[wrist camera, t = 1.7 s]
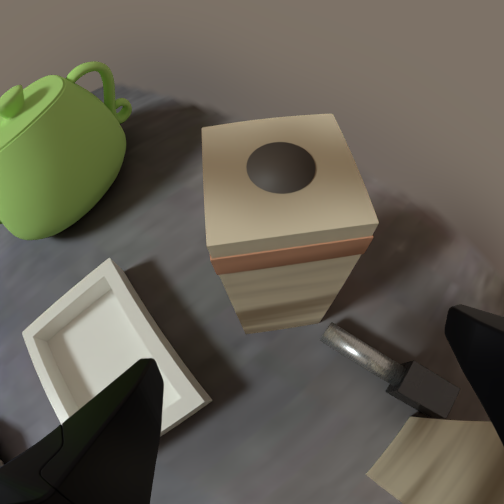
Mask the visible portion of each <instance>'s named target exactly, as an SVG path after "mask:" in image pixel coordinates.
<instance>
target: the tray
mask: <svg viewBox="0 0 504 504" xmlns="http://www.w3.org/2000/svg"><path fill="white" fill-rule="evenodd" d="M22 334H23V337H24V340H25V343H26V346H27V348H28V351H29V354H30V356H31V359H32V362H33V364H34V367H35V369H36V372H37V374H38V376H39V379H40V381H41V383H42V386H43V388H44V390H45V392H46V394H47V396H48V399H49V401H50V403H51V405H52V407H53V409H54V411H55V413H56V415H57V417H58V419H59V420H60V422H61V424H62V423H63V422H64V421H66V420H67V419H68V418H69V417H70V416H72V415H73V414H74V413H75V412H77V411H78V410H79V409H80V408H81V407H83V406H84V405H85V404H86V403H87V402H89V401H90V400H91V399H92V398H94V397H95V396H96V395H97V394H98V393H100V392H101V391H102V390H103V389H104V388H106V387H107V386H108V385H109V384H110V383H112V382H113V381H114V380H115V379H116V378H118V377H119V376H120V375H121V374H122V373H124V372H125V371H126V370H127V369H128V368H130V367H131V366H132V365H133V364H134V363H136V362H137V361H138V360H139V359H142V358H153V359H155V361H156V363H157V365H158V368H159V370H160V373H161V375H162V378H163V381H164V393H163V409H162V426H161V434H160V437H161V436H162V435H164V434H165V433H167V432H168V431H170V430H171V429H173V428H174V427H176V426H177V425H179V424H180V423H182V422H183V421H185V420H186V419H187V418H189V417H190V416H192V415H193V414H195V413H196V412H197V411H199V410H200V409H202V408H203V407H204V406H206V405H207V404H209V403H210V402H211V401H213V400H212V399H211V398H210V396H209V395H208V394H207V393H206V391H205V390H204V389H203V387H202V386H201V385H200V384H199V382H198V381H197V380H196V378H195V377H194V376H193V374H192V373H191V372H190V370H189V369H188V368H187V366H186V365H185V364H184V362H183V361H182V360H181V358H180V357H179V355H178V354H177V353H176V351H175V350H174V348H173V347H172V346H171V344H170V343H169V341H168V340H167V338H166V337H165V335H164V334H163V333H162V331H161V330H160V328H159V327H158V325H157V324H156V322H155V321H154V319H153V318H152V316H151V314H150V313H149V311H148V310H147V308H146V307H145V305H144V304H143V302H142V300H141V299H140V297H139V296H138V294H137V292H136V291H135V289H134V288H133V286H132V284H131V283H130V281H129V279H128V278H127V276H126V274H125V273H124V271H123V270H122V269H121V268H120V267H119V266H118V265H117V264H116V263H114V262H113V261H112V260H111V259H110V258H108V259H107V260H106V261H105V262H103V263H102V264H101V265H100V266H98V267H97V268H96V269H95V270H93V271H92V272H91V273H90V274H89V275H87V276H86V277H85V278H84V279H82V280H81V281H80V282H79V283H78V284H76V285H75V286H74V287H73V288H72V289H70V290H69V291H68V292H67V293H66V294H65V295H63V296H62V297H61V298H60V299H59V300H58V301H56V302H55V303H54V304H53V305H52V306H51V307H50V308H48V309H47V310H46V311H45V312H44V313H43V314H42V315H41V316H39V317H38V318H37V319H36V320H35V321H34V322H33V323H32V324H31V325H30V326H29V327H27V328H26V329H25V330H24V331H23V332H22Z"/></svg>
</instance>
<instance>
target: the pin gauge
mask: <svg viewBox="0 0 504 504" xmlns="http://www.w3.org/2000/svg"><path fill="white" fill-rule="evenodd" d="M320 341H321V342H323V343H324V344H326V345H328V346H329V347H331V348H332V349H334V350H336V351H337V352H339V353H340V354H342V355H344V356H345V357H347V358H348V359H350V360H352V361H353V362H355V363H357V364H358V365H360V366H361V367H363V368H365V369H366V370H368V371H370V372H371V373H373V374H375V375H376V376H378V377H380V378H381V379H383V380H385V381H386V382H388V383H390V385H389V387H388V388H387V390H386V392H387V393H389V394H390V395H392V396H394V397H396V398H397V399H399V400H401V401H402V402H404V403H406V404H408V405H409V406H411V407H413V408H415V409H416V410H418V411H420V412H422V413H424V414H425V415H427V416H429V417H431V418H444V419H446V418H447V416H448V414H449V412H450V410H451V408H452V406H453V404H454V401H455V399H456V397H457V395H458V393H459V391H460V389H459V388H458V387H456V386H454V385H453V384H451V383H450V382H448V381H446V380H445V379H443V378H441V377H440V376H438V375H437V374H435V373H433V372H432V371H430V370H429V369H427V368H425V367H424V366H422V365H420V364H419V363H417V362H416V361H410V362H407V363H403V364H401V365H400V364H398V363H397V362H395V361H394V360H392V359H390V358H389V357H387V356H385V355H384V354H382V353H381V352H379V351H377V350H376V349H374V348H372V347H371V346H369V345H368V344H366V343H364V342H363V341H361V340H360V339H358V338H356V337H355V336H353V335H352V334H350V333H348V332H347V331H345V330H344V329H342V328H340V327H339V326H337V325H336V324H334V323H332V322H331V323H330V325H329V326H328V328H327V329H326V331H325V332H324V334H323V335H322V337H321V339H320Z"/></svg>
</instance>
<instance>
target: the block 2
mask: <svg viewBox="0 0 504 504" xmlns="http://www.w3.org/2000/svg"><path fill="white" fill-rule="evenodd" d="M366 475H367V476H368V477H370V478H371V479H372V480H373V481H375V482H376V483H377V484H378V485H380V486H381V487H382V488H383V489H385V490H386V491H387V492H389V493H390V494H391V495H392V496H394V497H395V498H396V499H398V500H399V501H400V502H402V503H403V504H504V446H503V444H502V442H501V440H500V438H499V436H498V434H497V432H496V430H495V428H494V426H493V424H492V422H491V421H458V420H442V419H430V418H420V417H409V419H408V420H407V422H406V423H405V424H404V426H403V427H402V429H401V430H400V432H399V433H398V434H397V436H396V437H395V438H394V440H393V441H392V442H391V444H390V445H389V446H388V448H387V449H386V450H385V451H384V453H383V454H382V455H381V457H380V458H379V459H378V460H377V461H376V463H375V464H374V465H373V466H372V468H371V469H370V470H369V471H368V472H367V473H366Z"/></svg>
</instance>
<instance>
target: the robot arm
mask: <svg viewBox="0 0 504 504" xmlns="http://www.w3.org/2000/svg"><path fill="white" fill-rule="evenodd" d="M445 336H446V338H447V340H448V342H449V344H450V346H451V348H452V350H453V352H454V354H455V356H456V358H457V360H458V362H459V364H460V366H461V368H462V370H463V372H464V374H465V376H466V377H467V379H468V381H469V383H470V384H471V386H472V388H473V389H474V391H475V393H476V395H477V396H478V398H479V400H480V402H481V404H482V405H483V407H484V409H485V411H486V413H487V415H488V417H489V418H490V420H491V422H492V424H493V426H494V428H495V430H496V432H497V434H498V436H499V438H500V440H501V442H502V444H503V446H504V317H502V316H498V315H495V314H492V313H488V312H485V311H482V310H478V309H475V308H471V307H468V306H465V305H461V304H459V305H456V306H452V307H451V308H450V309H449V310H448V315H447V320H446V325H445ZM163 393H164V381H163V378H162V375H161V373H160V370H159V368H158V365H157V363H156V361H155V359H153V358H142V359H139V360H138V361H137V362H136V363H134V364H133V365H132V366H131V367H130V368H128V369H127V370H126V371H125V372H124V373H122V374H121V375H120V376H119V377H118V378H116V379H115V380H114V381H113V382H112V383H110V384H109V385H108V386H107V387H106V388H104V389H103V390H102V391H101V392H100V393H98V394H97V395H96V396H95V397H94V398H92V399H91V400H90V401H89V402H87V403H86V404H85V405H84V406H83V407H81V408H80V409H79V410H78V411H77V412H75V413H74V414H73V415H72V416H70V417H69V418H68V419H67V420H66V421H64V422H63V423H62V425H59V426H58V427H57V428H56V429H55V430H53V431H52V432H51V433H50V434H48V435H47V436H46V437H44V438H43V439H42V440H40V441H39V442H38V443H36V444H35V445H33V446H32V447H31V448H29V449H28V450H26V451H25V452H23V453H22V454H20V455H19V456H17V457H15V458H14V459H12V460H11V461H9V462H8V463H6V464H5V465H3V466H2V467H0V504H150V498H151V491H152V484H153V477H154V471H155V464H156V458H157V452H158V446H159V440H160V434H161V426H162V409H163Z"/></svg>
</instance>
